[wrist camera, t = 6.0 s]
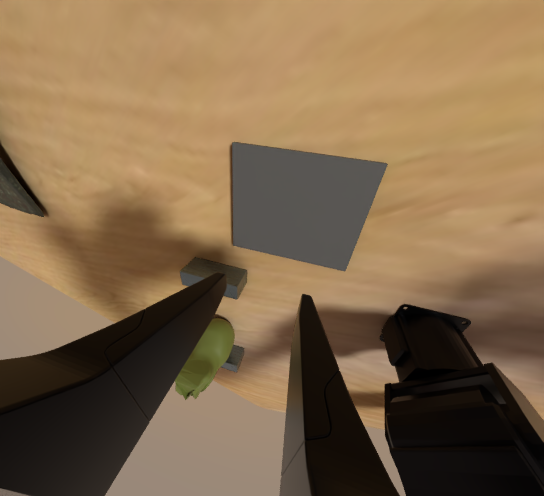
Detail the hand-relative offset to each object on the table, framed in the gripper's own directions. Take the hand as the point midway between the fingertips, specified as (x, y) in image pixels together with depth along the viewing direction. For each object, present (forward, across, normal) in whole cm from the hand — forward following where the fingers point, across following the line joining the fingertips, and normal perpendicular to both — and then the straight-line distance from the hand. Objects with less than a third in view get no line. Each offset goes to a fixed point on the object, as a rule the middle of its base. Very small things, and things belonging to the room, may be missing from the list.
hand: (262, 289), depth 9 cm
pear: (+11, +8, +20) cm, 24 cm away
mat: (+11, 0, 0) cm, 11 cm away
